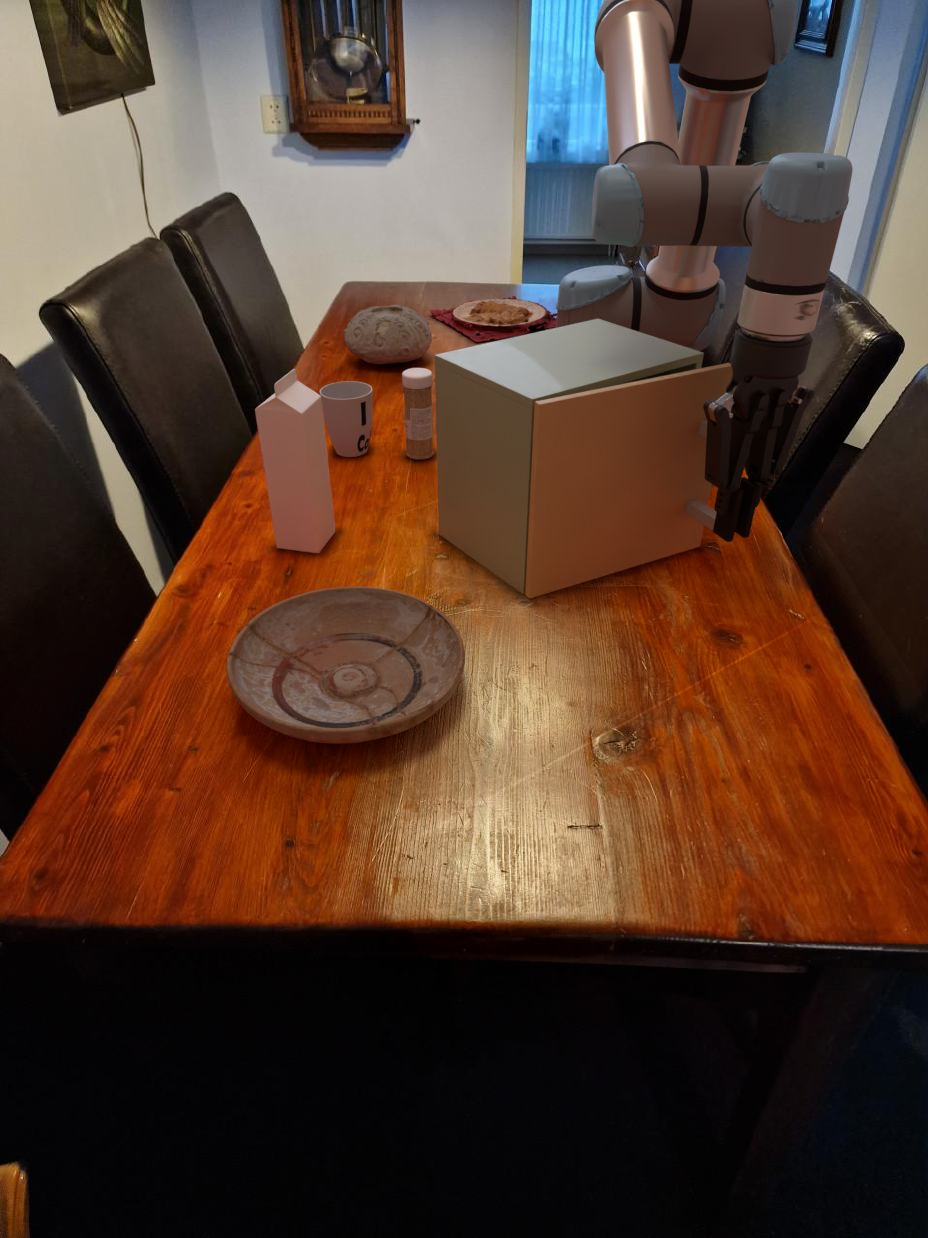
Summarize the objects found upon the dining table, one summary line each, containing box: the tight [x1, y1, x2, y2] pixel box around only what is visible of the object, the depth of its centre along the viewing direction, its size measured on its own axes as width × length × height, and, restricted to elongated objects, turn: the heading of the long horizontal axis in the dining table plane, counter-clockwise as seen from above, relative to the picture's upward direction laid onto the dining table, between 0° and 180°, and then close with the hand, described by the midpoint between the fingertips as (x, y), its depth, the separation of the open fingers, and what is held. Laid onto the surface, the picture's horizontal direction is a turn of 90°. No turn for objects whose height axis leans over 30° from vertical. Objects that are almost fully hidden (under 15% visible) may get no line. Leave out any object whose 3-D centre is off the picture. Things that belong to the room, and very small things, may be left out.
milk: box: [254, 368, 336, 554], centre depth 102 cm, size 6×6×22 cm
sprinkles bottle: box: [401, 367, 435, 461], centre depth 126 cm, size 5×5×13 cm
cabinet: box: [434, 319, 705, 595], centre depth 102 cm, size 18×26×24 cm
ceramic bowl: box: [226, 585, 466, 744], centre depth 82 cm, size 23×24×5 cm
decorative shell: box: [343, 304, 433, 366], centre depth 166 cm, size 18×18×10 cm
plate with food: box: [429, 295, 557, 343], centre depth 191 cm, size 24×26×3 cm
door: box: [524, 362, 743, 599], centre depth 92 cm, size 8×26×24 cm, turn 118°
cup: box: [319, 380, 374, 458], centre depth 129 cm, size 8×8×10 cm
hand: (730, 533), depth 96 cm, fingers closed on door, 2 cm apart
